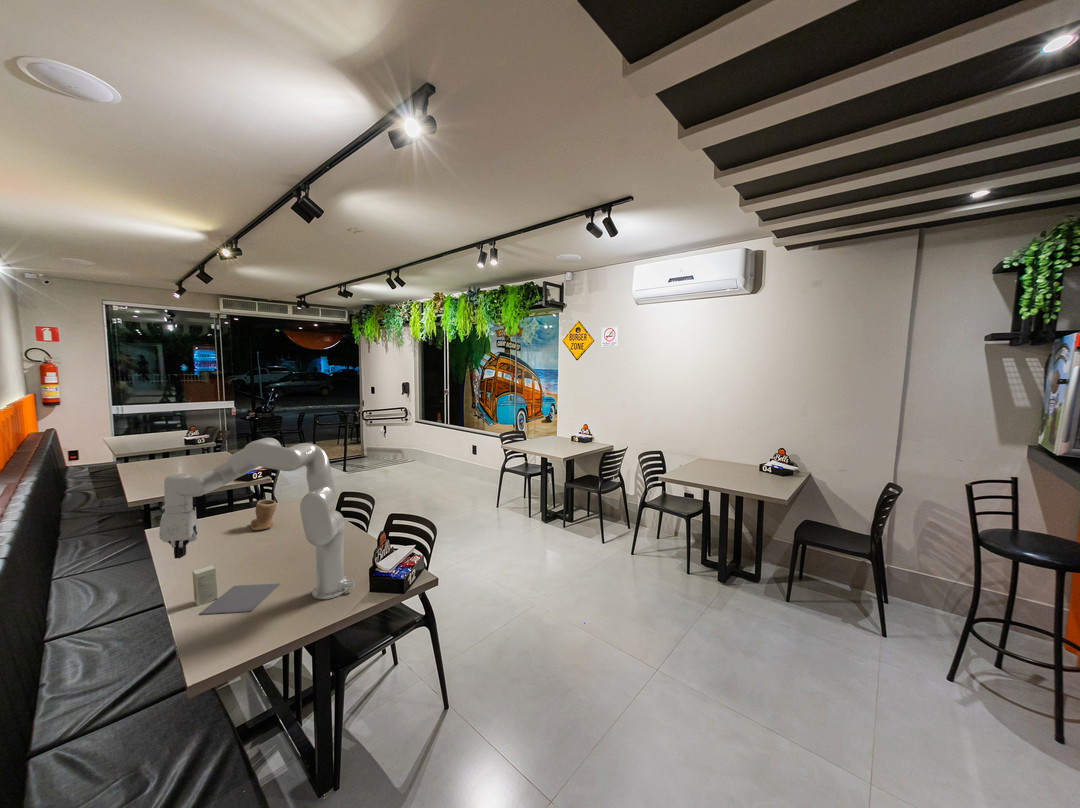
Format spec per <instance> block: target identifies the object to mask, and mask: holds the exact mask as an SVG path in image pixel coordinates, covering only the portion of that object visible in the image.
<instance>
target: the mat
mask: <svg viewBox="0 0 1080 808" xmlns="http://www.w3.org/2000/svg"><path fill="white" fill-rule="evenodd" d="M279 586H280V583H263V584H245V585H244V584H243V585H241V584H240V585H233V586H232V587H230V588H229V589H228V590H227V591H226V592H224V593H223V594H221V596H218V599H215V600H213V602H212V603H210V604H209V605H208V606H207V607H205V608H204V609H203V610H201V612H199V613H198V616H201V615H218V614H219V615H223V614H236V613H237V614H238V613H252V612H253V611H254V610H255V609H256V608H257V607H258V606H259V605H260V604H261V603H262V602H263V601H264V600H265V599H266V598H267V597H268V596H269V595H270V594H272V593H273V591H275V589H277V587H279Z"/></svg>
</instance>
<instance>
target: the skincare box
mask: <svg viewBox="0 0 1080 808" xmlns="http://www.w3.org/2000/svg"><path fill="white" fill-rule="evenodd" d="M191 573H192V582H193V583H192V584H193V595H194V596H193V597H194V599H193V600H194V603H195V604H196V606H197V607H198V606H201V605H204V604H206V603H210V602H212V601H216V600H217V599H218V598H219V595H218V585H217V584H218V583H217V569H216V567H215V566H214V564H211V565H208V566H203V567H201V568H198V569H195V570H192V572H191Z"/></svg>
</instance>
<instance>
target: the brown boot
mask: <svg viewBox="0 0 1080 808" xmlns="http://www.w3.org/2000/svg"><path fill="white" fill-rule="evenodd" d="M276 509H277V502H276V500H273V499H261V500H258V501H257V503H256V505H255V516H256V518H254V519H253V520H251V521H250V527H251V529H252V530H253V531H261V530H262V531H263V530H267V529H271V528H272V527H273V525H274V523H273V520H272V519H273V516H274V514H275V511H276Z"/></svg>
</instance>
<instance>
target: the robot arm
mask: <svg viewBox="0 0 1080 808" xmlns="http://www.w3.org/2000/svg"><path fill="white" fill-rule="evenodd" d="M259 467H261V468H267V469H271V470H275V471H276V470H277V471H283V472H292V471H297V470H299V469H300V468H303V467H305V469H306V474H305V475H306V482H307V486H308V492H307V493H306V494H305V495H304V496H303V497H302V498H301V501H300V505H299V512H300V516H301V522H302V526H303V531H304V535H305V539H306V540H307V542H308V543H309V544H310V545H312V546H314V547H315V576H316V586H315V587H314V588H313V590H312V592H311V594H312V595H311V596H312V597H313V598H314V599H317V600H330V599H334V598H336V597H337V598H338V597H340V596H342V595H343V594H345V593H346V592H347V591H348V590H349V588H354V587H355V585H356V584H355V583H356V582H355V579H348V578H347V575H344V574H345V573H344V572H345V571H344V570H345V569H344V567H345V566H344V565H345V564H344V563H345V562H344V533H345V518H344V516H343V514H342V513H341V512H339V511H338V510H330V509H331V508H332V507H333V506H334V505H335V504H336V501H337V492H336V487H335V484H334V483H335V482H334V477H333V473H332V470H331V469H332V468H331V464H330V459H329V457H328V454H327V453H326V451H325V450H324V449H323V448H321V447H320V446H319V445H317V444H314V443H311V442H310V443H309V442H304V443H298V444H295V445H292V446H289V447H284V446H282V445H281V443H280V441H279V440H277V439H275V438H273V437H264V438H260V439H257V440H254V441H251V442H249V443H247V444H246V445H245V446H244V447H243V448H242V449H240V450H239V451H236V452H235V453H232V454H231V455H229V456H228V459H227V461H225V462H224V463H223V462H222V464H220V465H218V466H216V467H214V468H212V469H210V470H208V471H205V472H201V473H198V474H196V475H193V476H192V474H189V473H175V474H170V475H167V476H166V477H165V478H164V481H163V485H164V486H163V489H164V490H163V491H164V504H163V505H162V507H161V509H163V510H164V512H163V513H162V515H161V519H160V522H159V533H158V534H159V540H160V541H162V542H163V543H168V544H169V545H171V548H173V556H174V559H182V558H183V557H185V556H186V554H187V545H188V544H190V543H191V542H192V543H193V542H195V541H197V539H198V538H197V535H198V531H199V530H198V528H199V527H198V519H197V515H196V511H195V509H194V506H193V505H194V504H193V498H195V497H196V498H197V497H202V496H203V495H207V494H208V493H210V492H212V491H214V490H218V489H219V488H222V487H224V486H226V485H227V484H229V483H230V482H231V483H232V481H235V480H236V479H238V478H240V477H242V476H243V477H244V476H245V475H246V474H248V473H250V472H252V471H253V470H256V469H257V468H259Z"/></svg>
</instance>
